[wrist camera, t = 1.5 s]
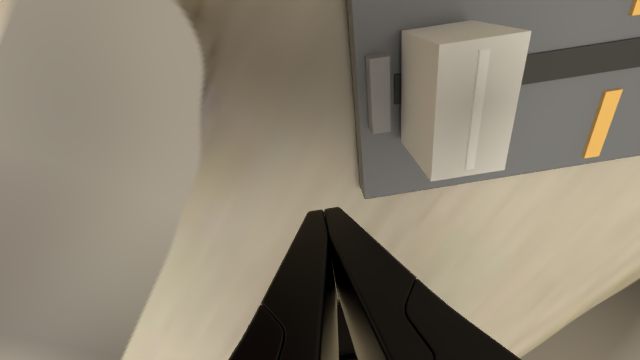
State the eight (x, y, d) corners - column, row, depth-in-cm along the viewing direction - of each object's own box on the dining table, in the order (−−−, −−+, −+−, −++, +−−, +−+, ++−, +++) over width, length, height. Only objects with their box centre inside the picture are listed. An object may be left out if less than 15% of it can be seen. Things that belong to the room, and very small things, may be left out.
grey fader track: (692, 134, 23) (734, 149, 21) (360, 187, 23) (368, 208, 21) (826, -129, 16) (910, -147, 14) (342, -59, 16) (351, -66, 13)
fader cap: (459, 132, 19) (505, 170, 15) (401, 141, 19) (431, 182, 15) (471, 20, 16) (533, 31, 12) (401, 30, 16) (440, 45, 12)
